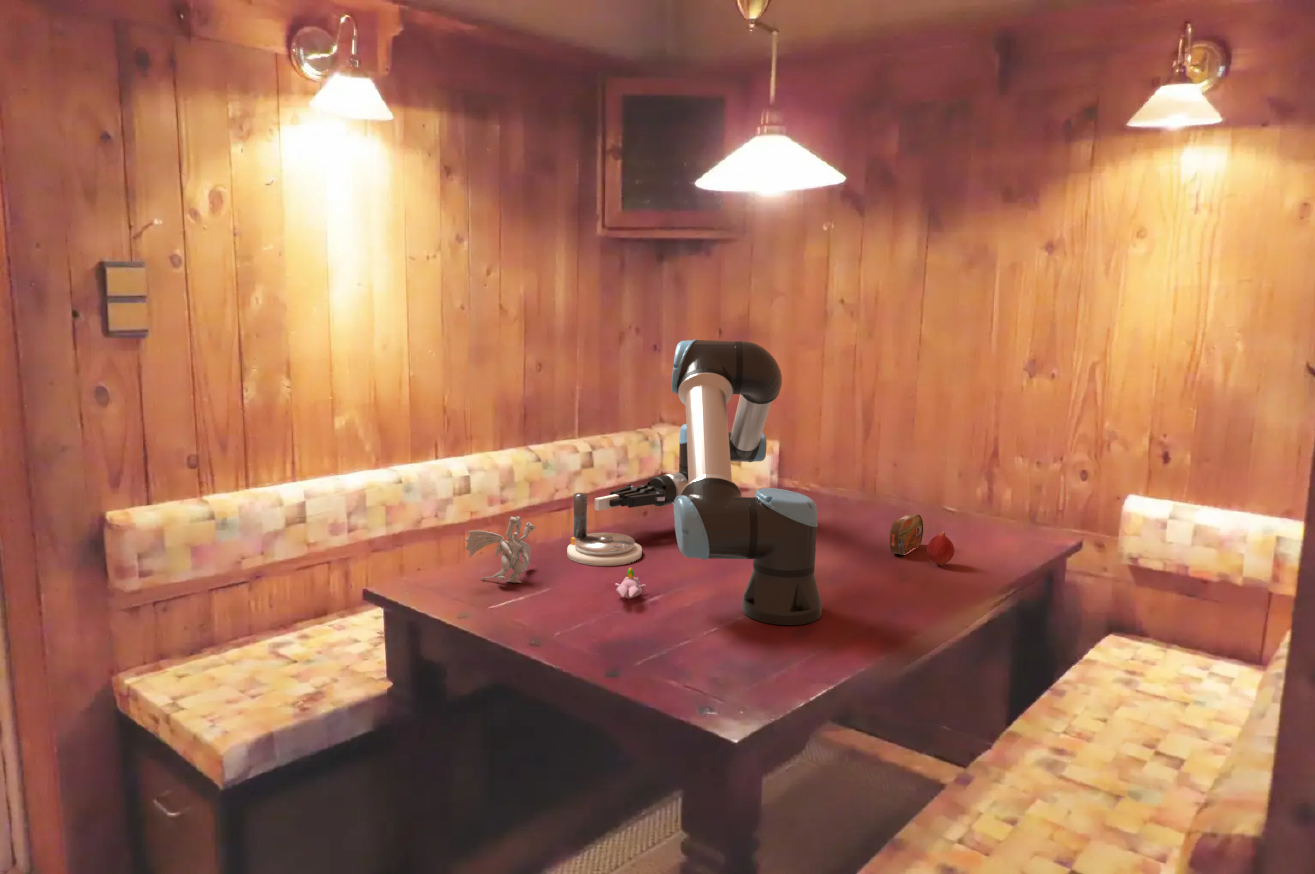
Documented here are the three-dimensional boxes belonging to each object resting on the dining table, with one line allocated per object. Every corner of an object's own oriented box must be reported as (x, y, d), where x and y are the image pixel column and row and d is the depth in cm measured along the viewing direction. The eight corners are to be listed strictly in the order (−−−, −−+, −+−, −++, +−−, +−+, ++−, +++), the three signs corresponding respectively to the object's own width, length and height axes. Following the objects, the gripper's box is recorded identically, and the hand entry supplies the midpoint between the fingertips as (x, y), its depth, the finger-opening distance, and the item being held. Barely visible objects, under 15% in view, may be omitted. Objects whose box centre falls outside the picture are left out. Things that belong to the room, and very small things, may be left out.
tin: (898, 559, 210) (901, 524, 209) (885, 557, 212) (888, 521, 210) (923, 545, 222) (925, 512, 220) (910, 543, 224) (913, 509, 222)
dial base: (620, 570, 198) (620, 557, 197) (553, 558, 205) (553, 546, 204) (654, 550, 213) (654, 537, 212) (590, 540, 220) (590, 528, 219)
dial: (641, 541, 213) (642, 492, 211) (623, 558, 200) (624, 506, 198) (584, 536, 217) (584, 487, 215) (562, 551, 204) (563, 500, 202)
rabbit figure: (616, 591, 189) (610, 605, 174) (617, 562, 189) (611, 573, 174) (646, 592, 189) (643, 606, 174) (647, 563, 188) (643, 574, 173)
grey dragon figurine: (453, 574, 185) (463, 507, 189) (519, 589, 198) (527, 526, 202) (484, 573, 178) (494, 504, 182) (550, 588, 191) (558, 523, 195)
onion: (923, 567, 205) (926, 532, 203) (928, 560, 210) (931, 526, 208) (950, 571, 202) (953, 536, 201) (955, 564, 207) (957, 530, 206)
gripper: (685, 509, 226) (615, 525, 209) (648, 499, 235) (578, 514, 218) (686, 479, 224) (616, 493, 208) (648, 470, 233) (578, 484, 217)
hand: (596, 504), depth 213 cm, fingers closed
